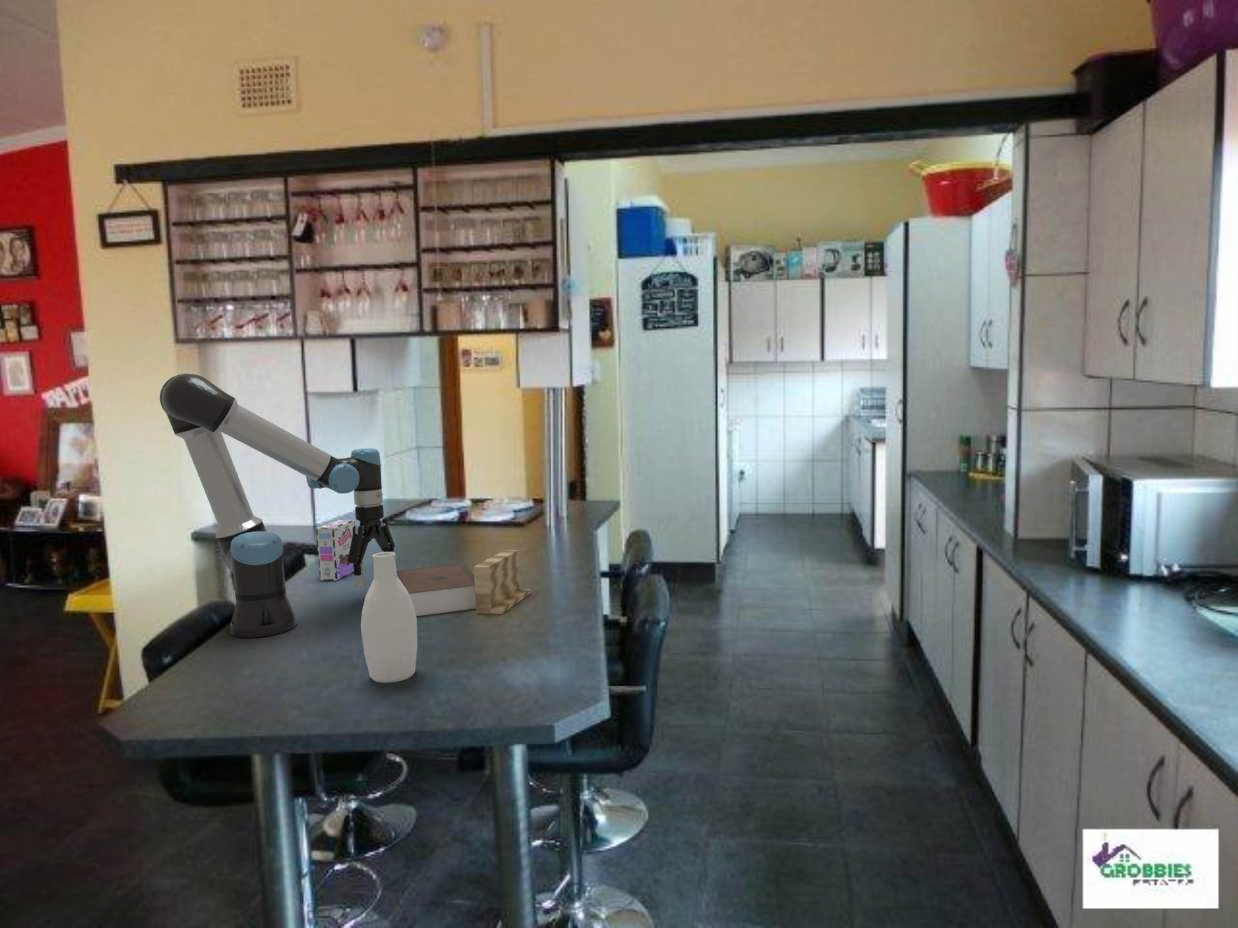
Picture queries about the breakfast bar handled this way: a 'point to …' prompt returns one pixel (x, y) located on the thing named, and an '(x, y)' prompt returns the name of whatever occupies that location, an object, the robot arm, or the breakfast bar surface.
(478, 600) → the bookend
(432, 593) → the book
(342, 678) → the breakfast bar surface
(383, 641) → the bottle
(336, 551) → the candy box
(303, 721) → the breakfast bar surface
